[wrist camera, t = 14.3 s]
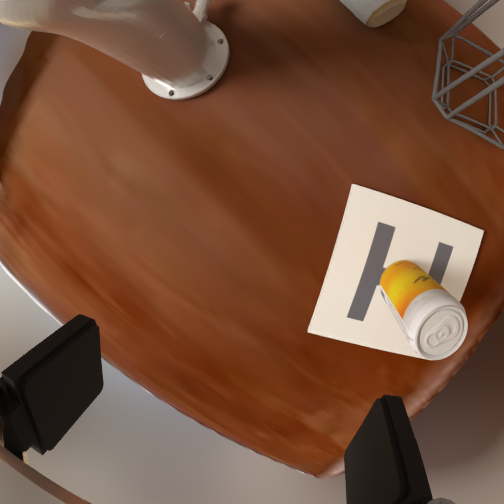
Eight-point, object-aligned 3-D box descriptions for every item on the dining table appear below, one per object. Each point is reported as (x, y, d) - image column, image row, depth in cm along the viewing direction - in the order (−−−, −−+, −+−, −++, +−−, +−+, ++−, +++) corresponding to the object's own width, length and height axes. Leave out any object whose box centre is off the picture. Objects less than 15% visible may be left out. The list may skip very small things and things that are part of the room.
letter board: (352, 183, 36) (352, 183, 36) (481, 230, 34) (484, 231, 33) (307, 329, 41) (307, 332, 41) (431, 357, 39) (432, 360, 38)
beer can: (427, 287, 36) (478, 339, 22) (390, 311, 38) (424, 375, 24) (409, 249, 36) (460, 288, 22) (370, 274, 38) (401, 327, 23)
